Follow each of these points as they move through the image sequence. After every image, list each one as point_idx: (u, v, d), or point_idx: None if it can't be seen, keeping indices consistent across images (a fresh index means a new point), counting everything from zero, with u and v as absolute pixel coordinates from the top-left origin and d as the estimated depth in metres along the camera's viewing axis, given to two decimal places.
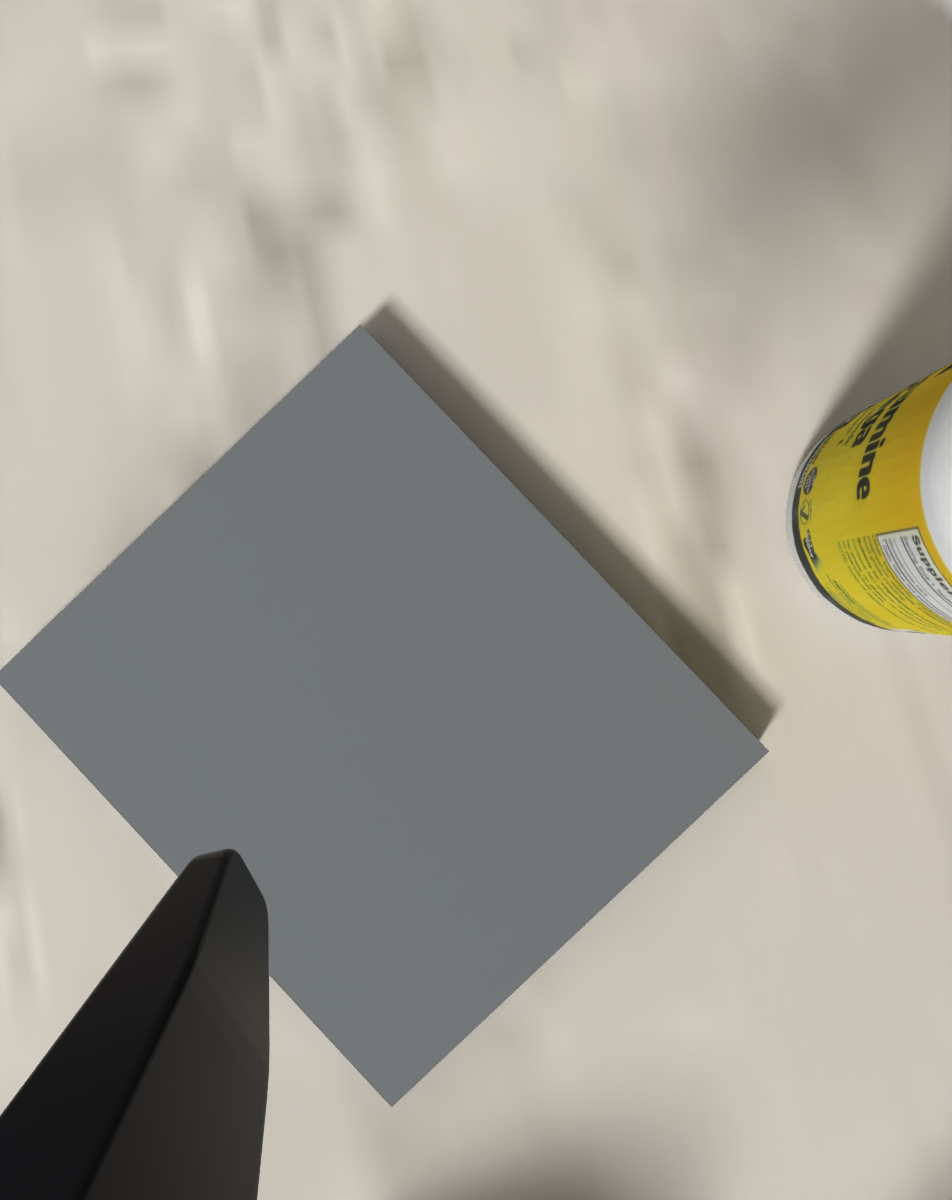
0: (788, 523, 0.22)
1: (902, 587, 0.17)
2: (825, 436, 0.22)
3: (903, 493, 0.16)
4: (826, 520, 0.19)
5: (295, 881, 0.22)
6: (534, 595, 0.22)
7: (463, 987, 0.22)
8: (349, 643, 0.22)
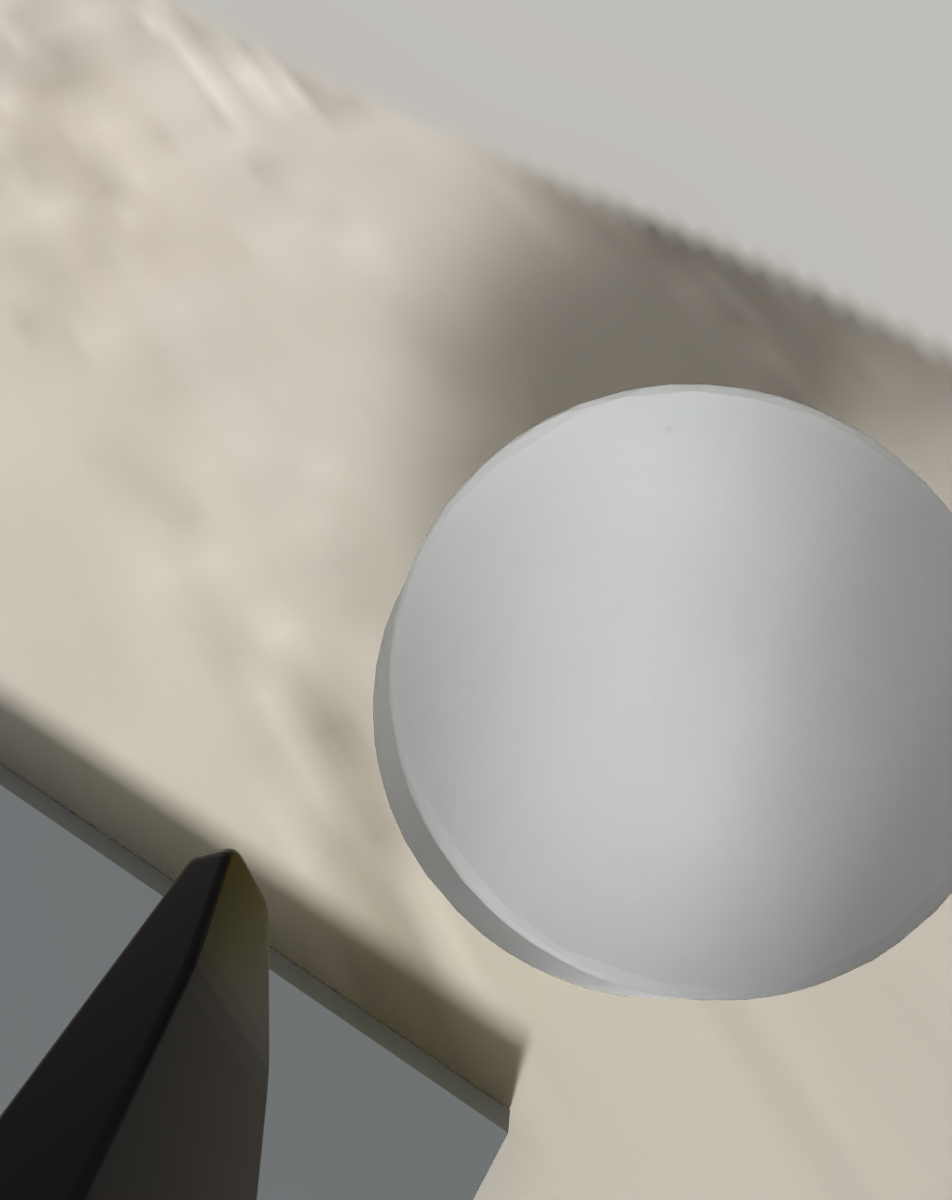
0: None
1: None
2: None
3: None
4: None
5: None
6: None
7: None
8: None
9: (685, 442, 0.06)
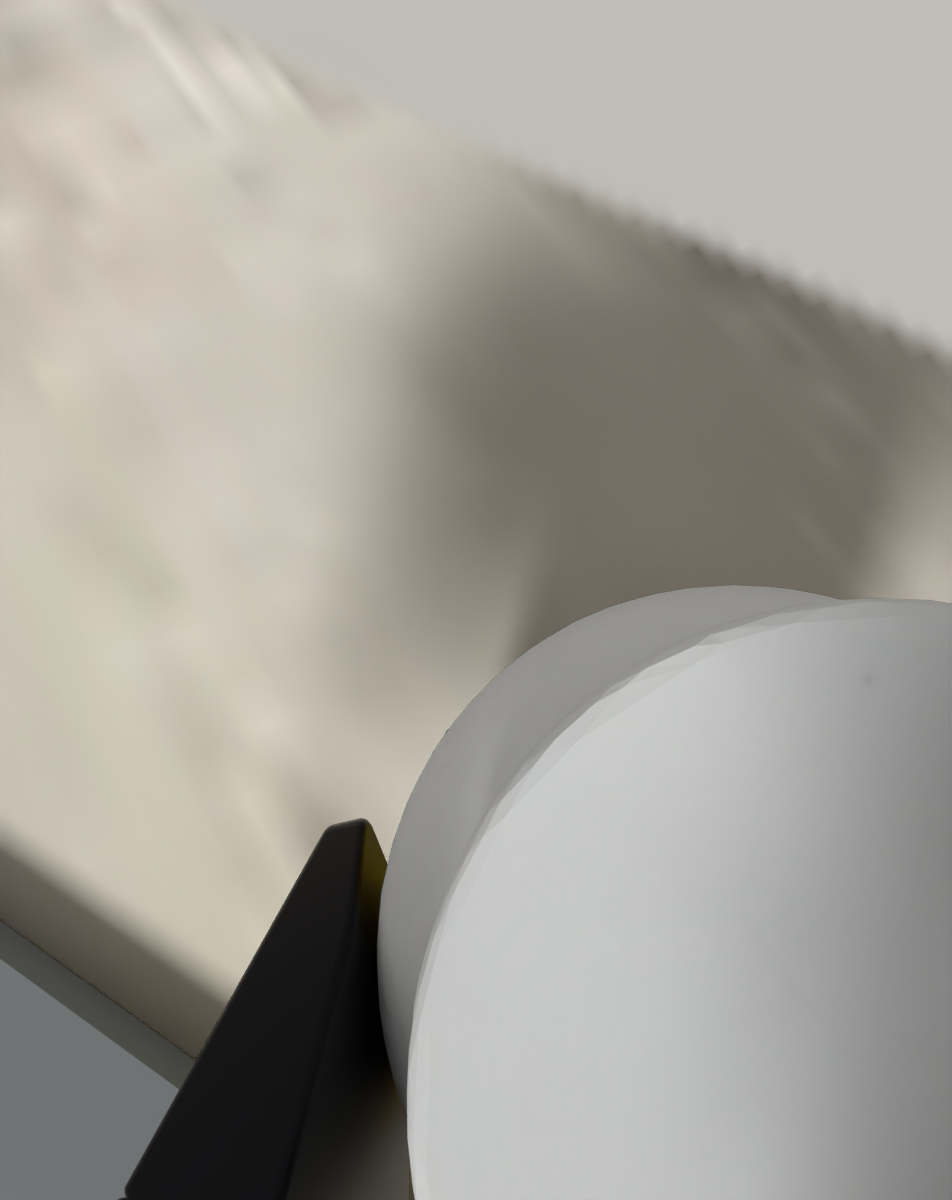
0: None
1: None
2: None
3: None
4: None
5: None
6: (86, 1161, 0.13)
7: None
8: None
9: (897, 706, 0.04)
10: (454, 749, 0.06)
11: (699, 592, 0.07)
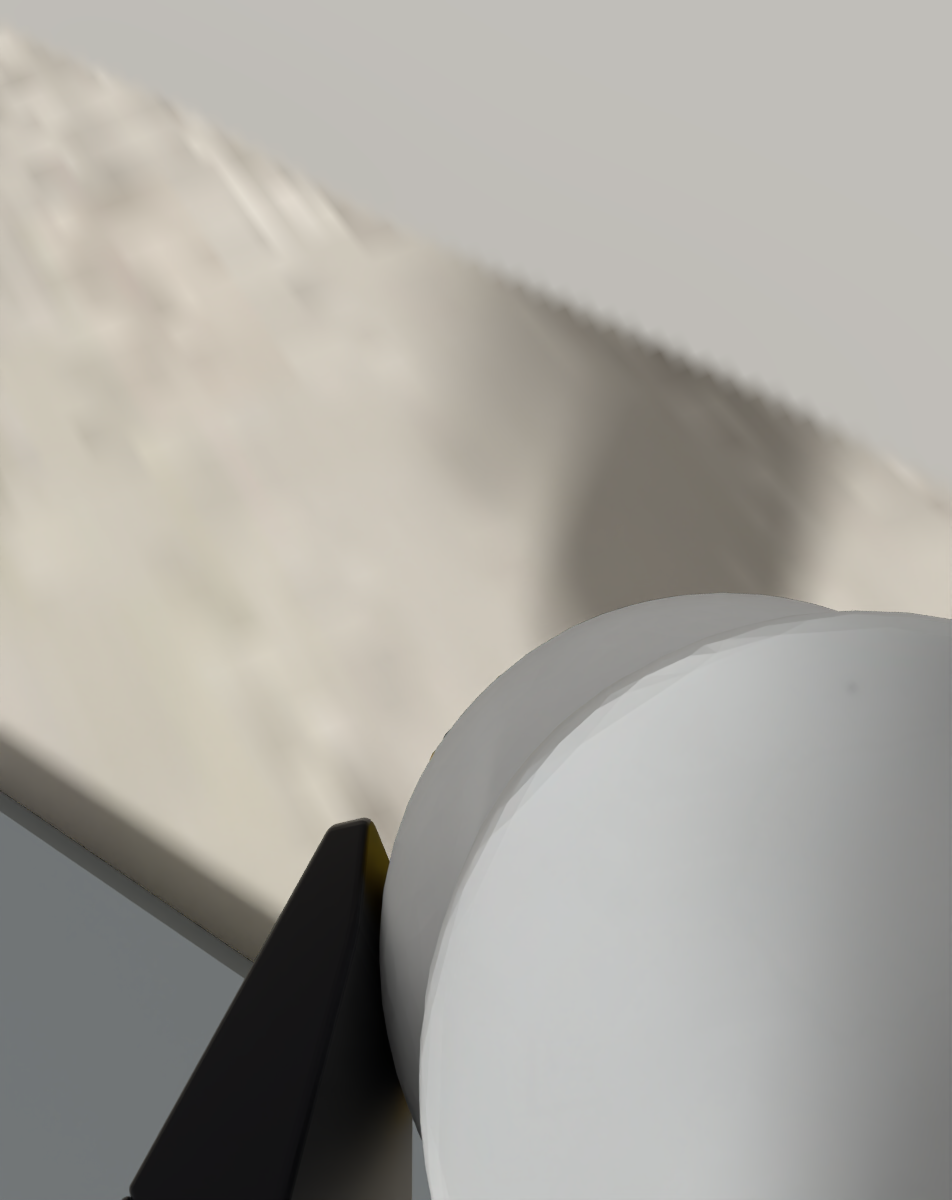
0: None
1: None
2: None
3: None
4: None
5: None
6: (203, 1049, 0.18)
7: None
8: None
9: (879, 712, 0.04)
10: (455, 751, 0.07)
11: (691, 600, 0.07)
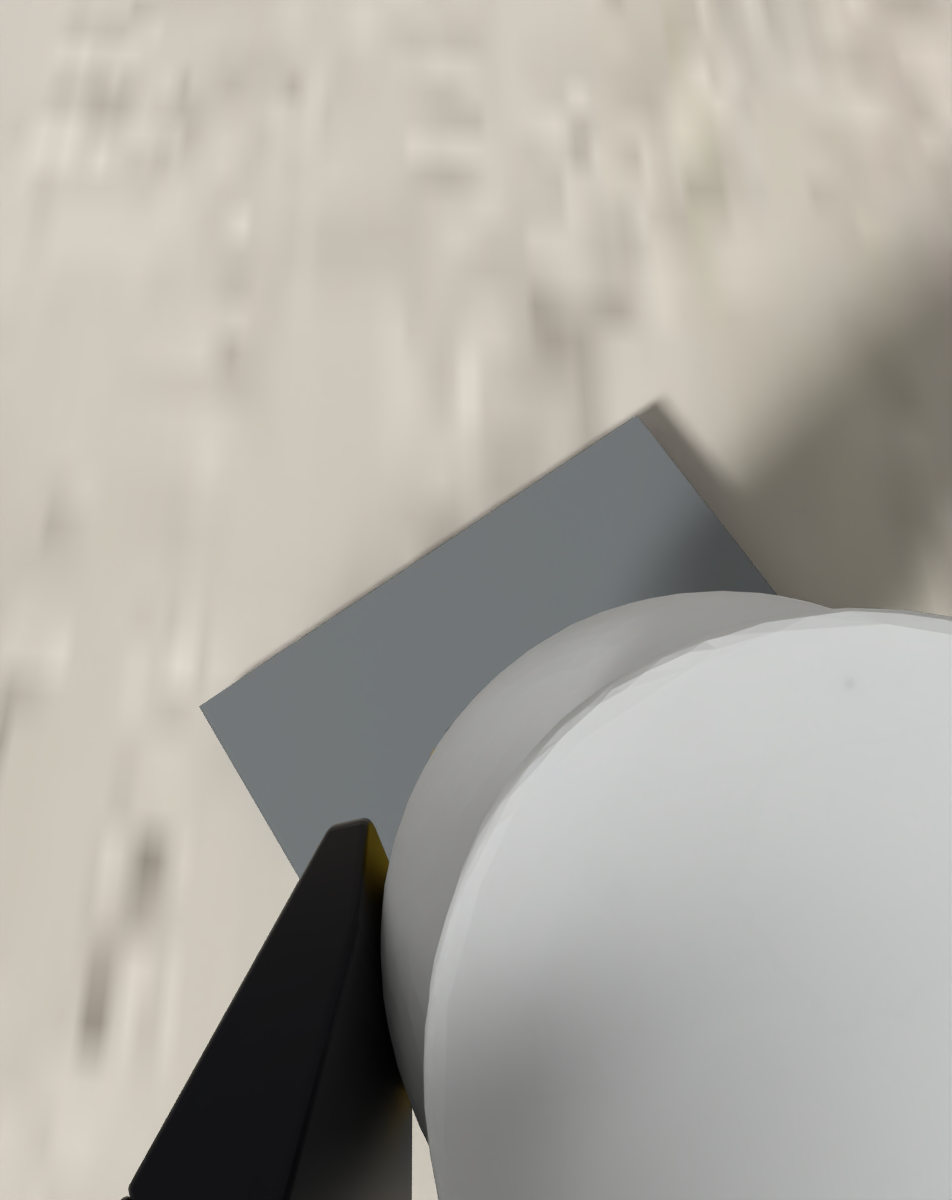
0: None
1: None
2: None
3: None
4: None
5: None
6: None
7: None
8: None
9: (876, 707, 0.04)
10: (457, 746, 0.07)
11: (689, 598, 0.07)
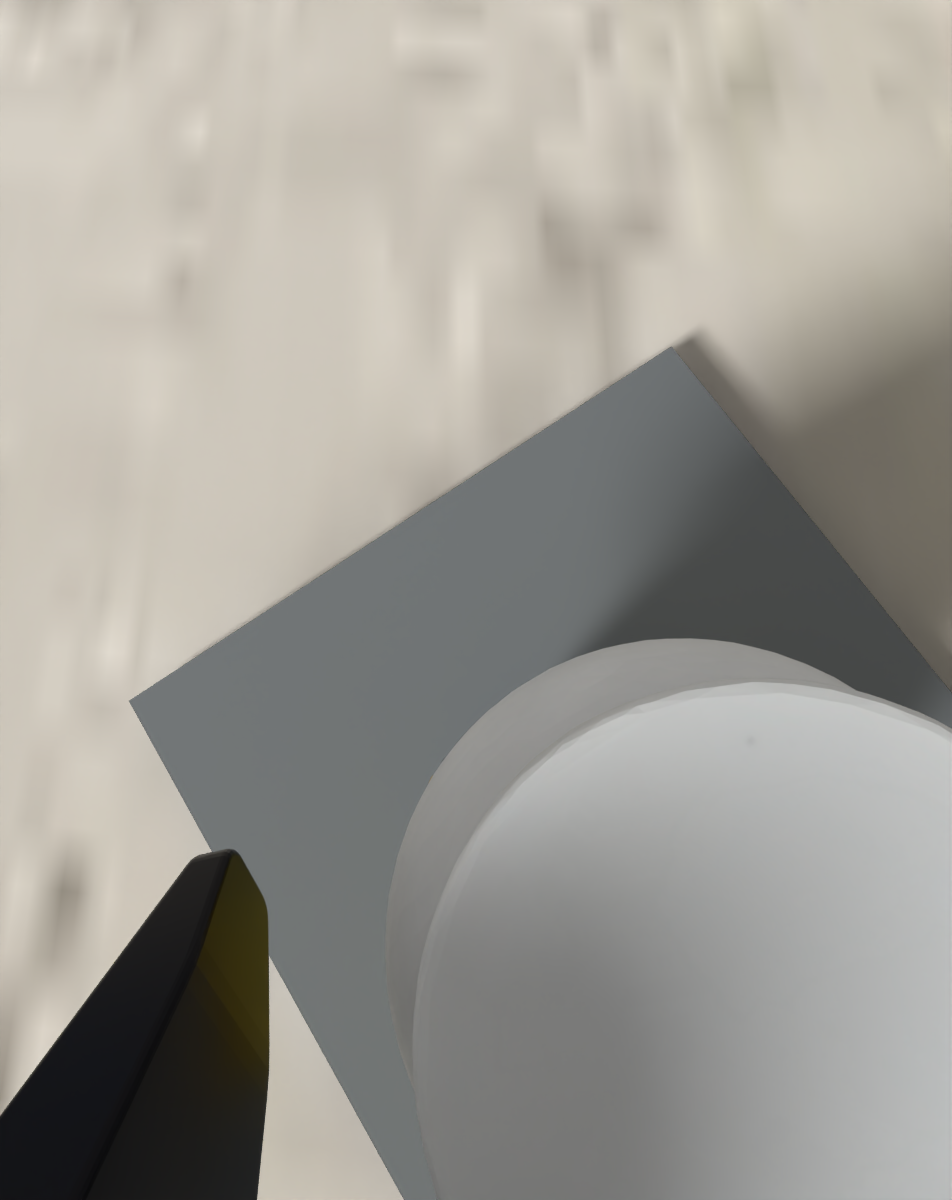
0: None
1: None
2: None
3: None
4: None
5: None
6: None
7: None
8: None
9: (771, 760, 0.05)
10: (449, 778, 0.08)
11: (651, 646, 0.08)
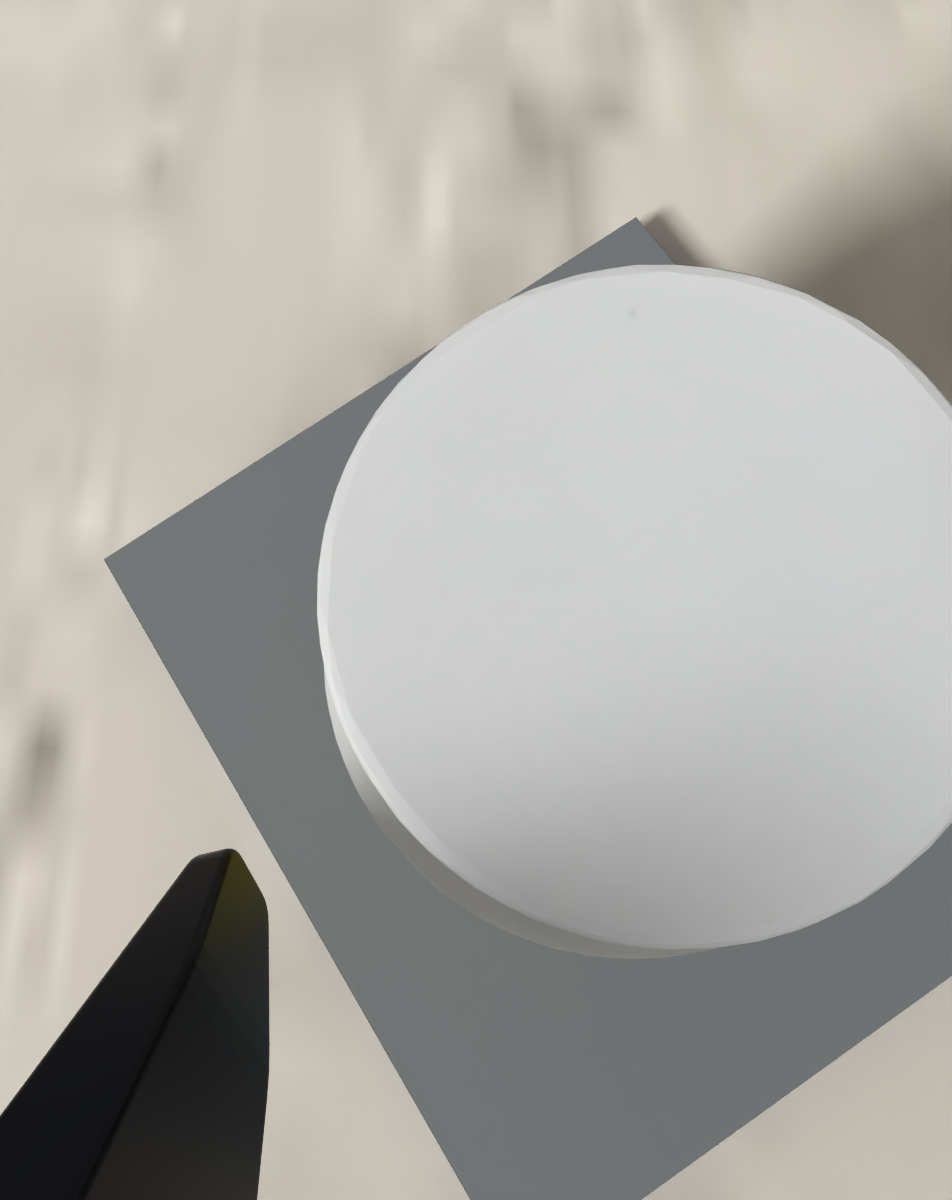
0: None
1: None
2: None
3: None
4: None
5: (436, 901, 0.15)
6: None
7: (655, 1111, 0.15)
8: None
9: (651, 328, 0.06)
10: None
11: None
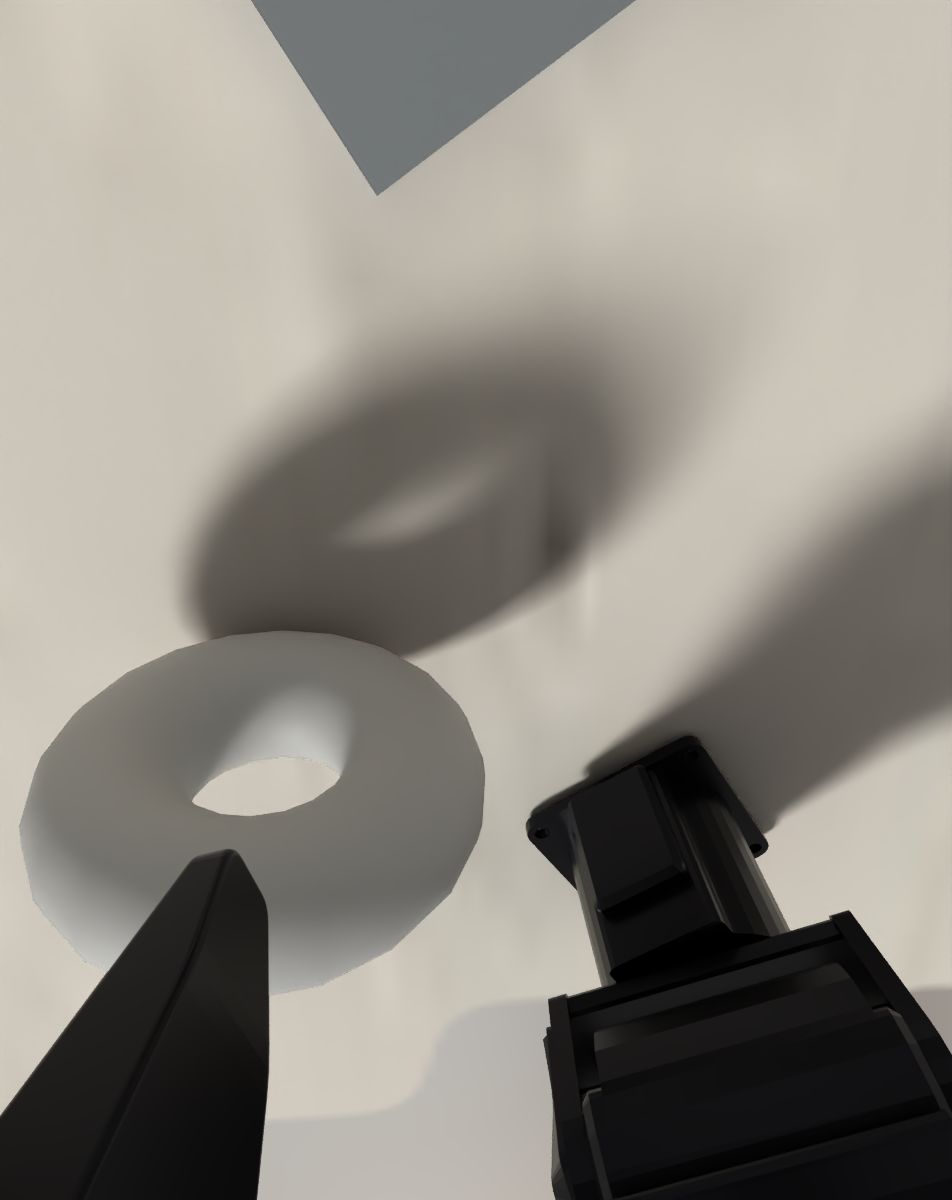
0: None
1: None
2: None
3: None
4: None
5: None
6: None
7: (506, 21, 0.15)
8: None
9: None
10: None
11: None
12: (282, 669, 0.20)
